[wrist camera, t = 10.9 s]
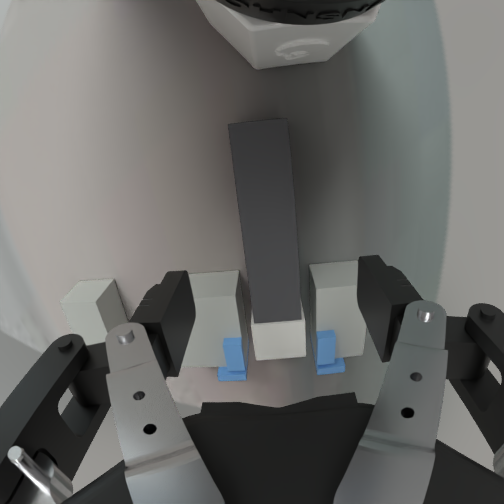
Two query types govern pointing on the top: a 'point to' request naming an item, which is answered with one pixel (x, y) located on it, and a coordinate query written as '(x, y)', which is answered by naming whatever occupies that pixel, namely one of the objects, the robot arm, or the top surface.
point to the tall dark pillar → (269, 236)
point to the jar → (289, 27)
